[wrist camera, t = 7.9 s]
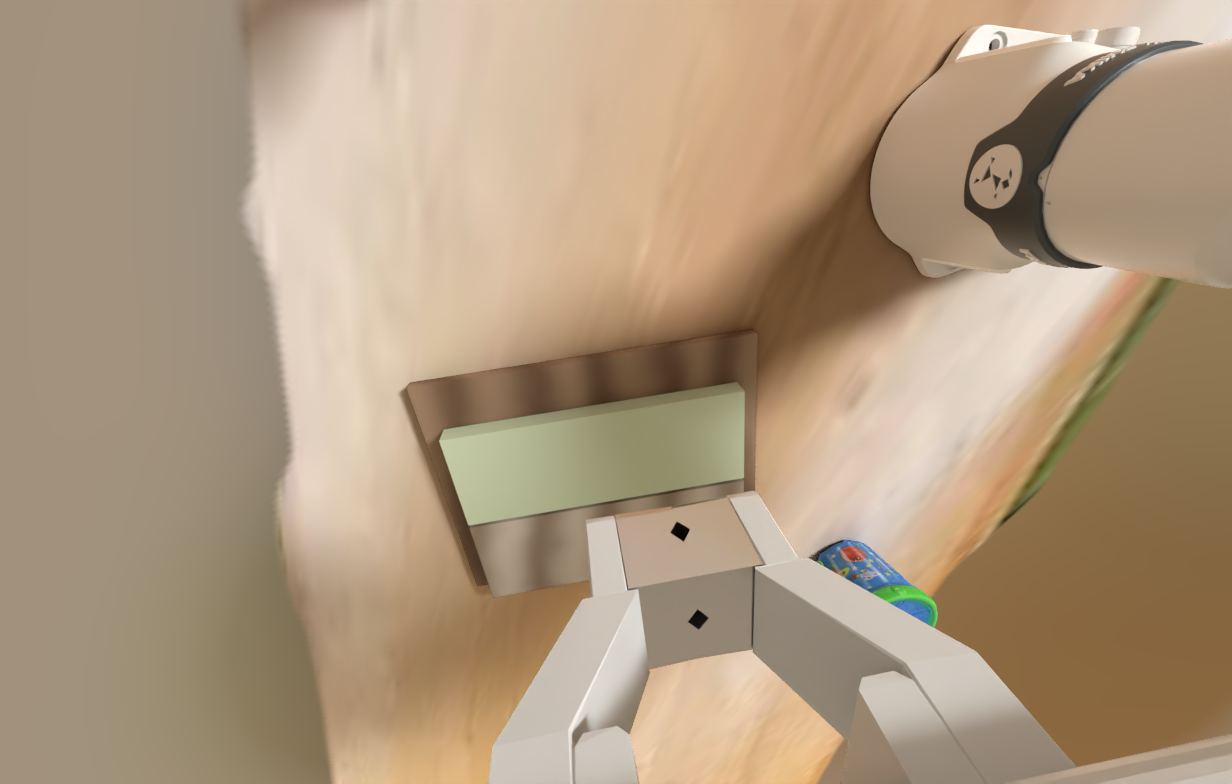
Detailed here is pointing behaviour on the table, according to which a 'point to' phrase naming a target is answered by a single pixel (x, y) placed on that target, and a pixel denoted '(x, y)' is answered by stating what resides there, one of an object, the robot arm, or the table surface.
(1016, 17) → the table surface
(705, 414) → the board
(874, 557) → the snack cup
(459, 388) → the floor board
